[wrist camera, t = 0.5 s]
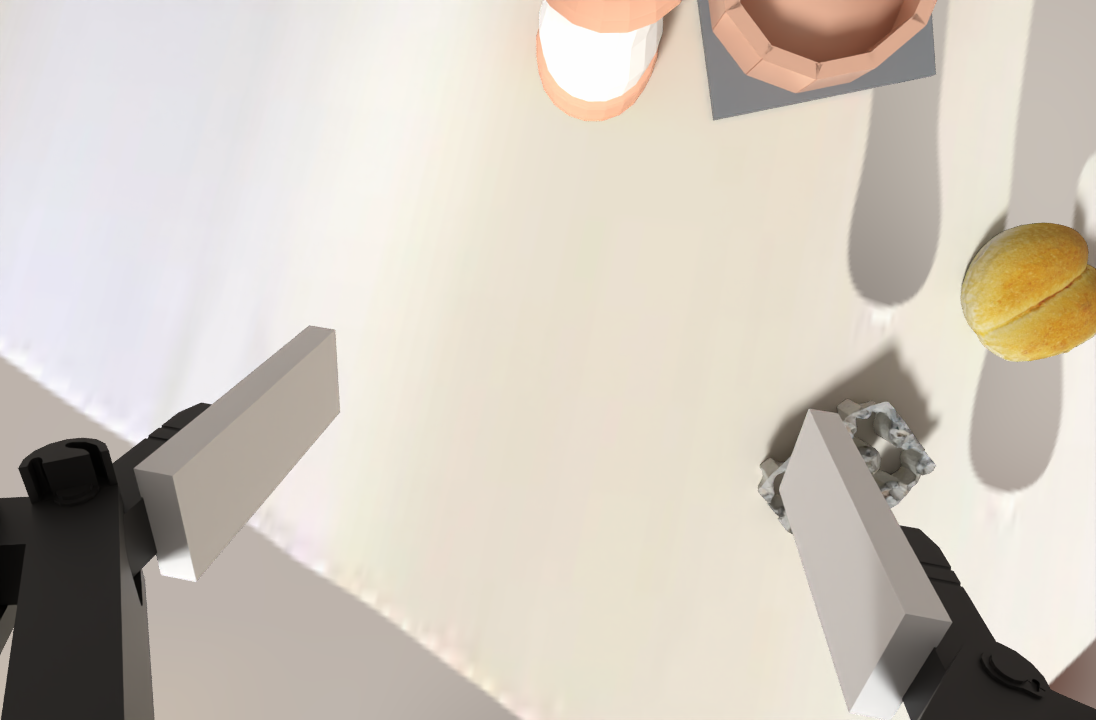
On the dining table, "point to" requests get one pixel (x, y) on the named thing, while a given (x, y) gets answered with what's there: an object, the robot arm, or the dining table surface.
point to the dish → (814, 37)
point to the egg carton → (865, 456)
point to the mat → (751, 95)
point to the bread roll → (1031, 292)
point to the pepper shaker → (598, 53)
